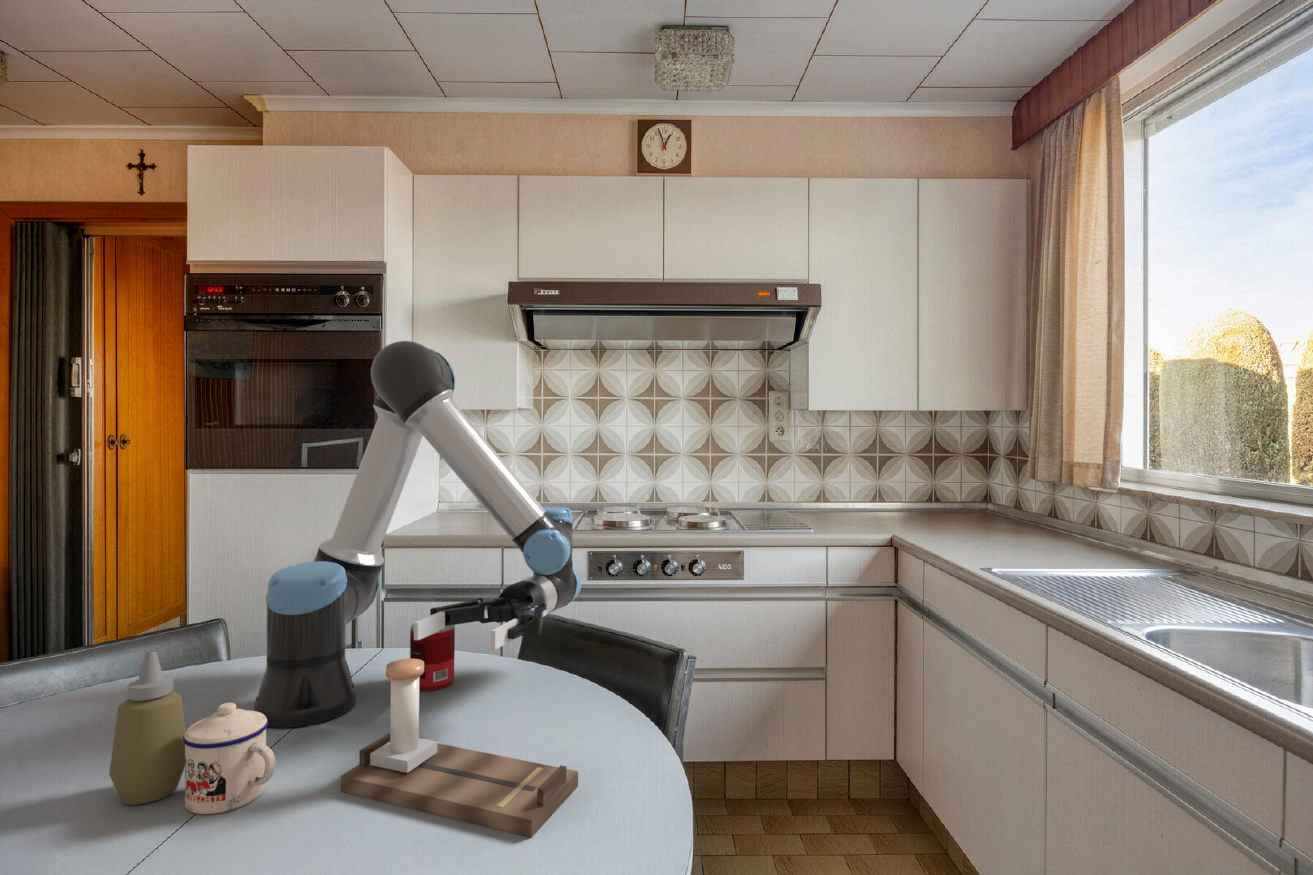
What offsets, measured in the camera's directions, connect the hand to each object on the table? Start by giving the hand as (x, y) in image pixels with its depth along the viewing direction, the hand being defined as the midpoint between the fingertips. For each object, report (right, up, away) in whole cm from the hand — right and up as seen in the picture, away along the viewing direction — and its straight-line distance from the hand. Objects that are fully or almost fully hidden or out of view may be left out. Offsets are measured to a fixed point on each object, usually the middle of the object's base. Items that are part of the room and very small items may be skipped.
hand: (453, 635), depth 100 cm
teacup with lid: (-23, -16, -15) cm, 32 cm away
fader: (-4, -14, -9) cm, 17 cm away
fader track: (+5, -16, -12) cm, 21 cm away
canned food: (-11, -16, +24) cm, 31 cm away
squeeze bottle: (-34, -16, -14) cm, 41 cm away
